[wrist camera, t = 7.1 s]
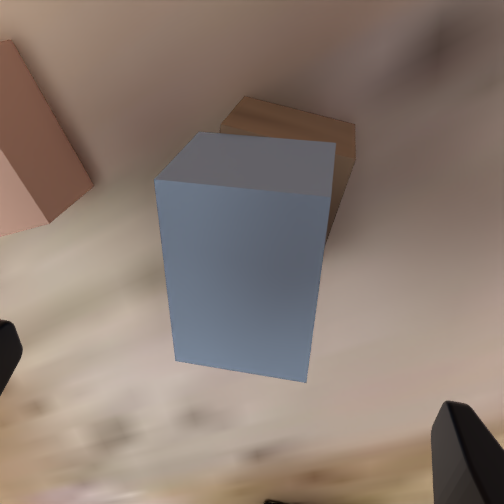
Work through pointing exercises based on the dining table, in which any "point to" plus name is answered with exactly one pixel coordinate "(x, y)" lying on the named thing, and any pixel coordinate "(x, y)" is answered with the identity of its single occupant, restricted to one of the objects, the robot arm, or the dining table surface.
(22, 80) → the terracotta brick
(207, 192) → the slate blue brick
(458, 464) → the robot arm
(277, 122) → the walnut brick
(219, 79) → the dining table surface
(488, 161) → the dining table surface
